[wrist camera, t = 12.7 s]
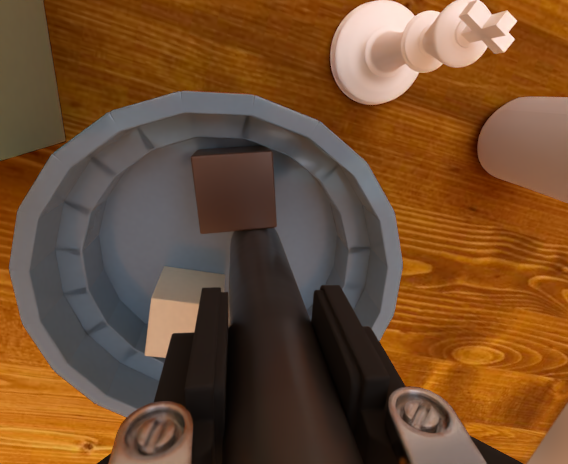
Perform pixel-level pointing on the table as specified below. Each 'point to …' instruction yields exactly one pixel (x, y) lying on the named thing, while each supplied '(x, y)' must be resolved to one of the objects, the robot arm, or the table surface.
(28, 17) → the stand
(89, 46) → the table surface
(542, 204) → the table surface
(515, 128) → the beverage can
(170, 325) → the cream block
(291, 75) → the table surface
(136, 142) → the bowl
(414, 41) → the chess piece
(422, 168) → the table surface
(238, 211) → the walnut block
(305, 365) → the stirring stick
